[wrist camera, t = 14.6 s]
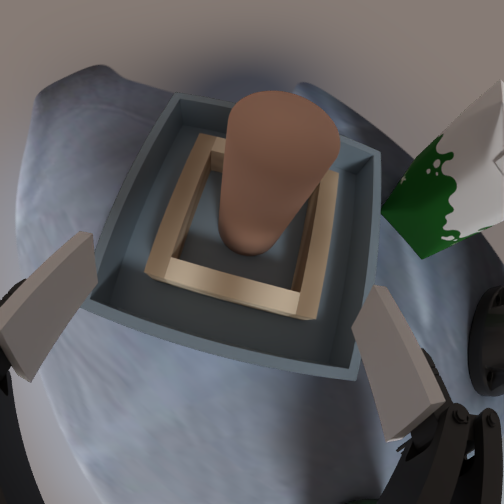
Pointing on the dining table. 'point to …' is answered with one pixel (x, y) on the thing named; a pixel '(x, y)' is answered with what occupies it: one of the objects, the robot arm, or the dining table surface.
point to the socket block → (227, 285)
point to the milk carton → (454, 180)
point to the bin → (237, 256)
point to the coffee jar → (364, 501)
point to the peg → (271, 166)
